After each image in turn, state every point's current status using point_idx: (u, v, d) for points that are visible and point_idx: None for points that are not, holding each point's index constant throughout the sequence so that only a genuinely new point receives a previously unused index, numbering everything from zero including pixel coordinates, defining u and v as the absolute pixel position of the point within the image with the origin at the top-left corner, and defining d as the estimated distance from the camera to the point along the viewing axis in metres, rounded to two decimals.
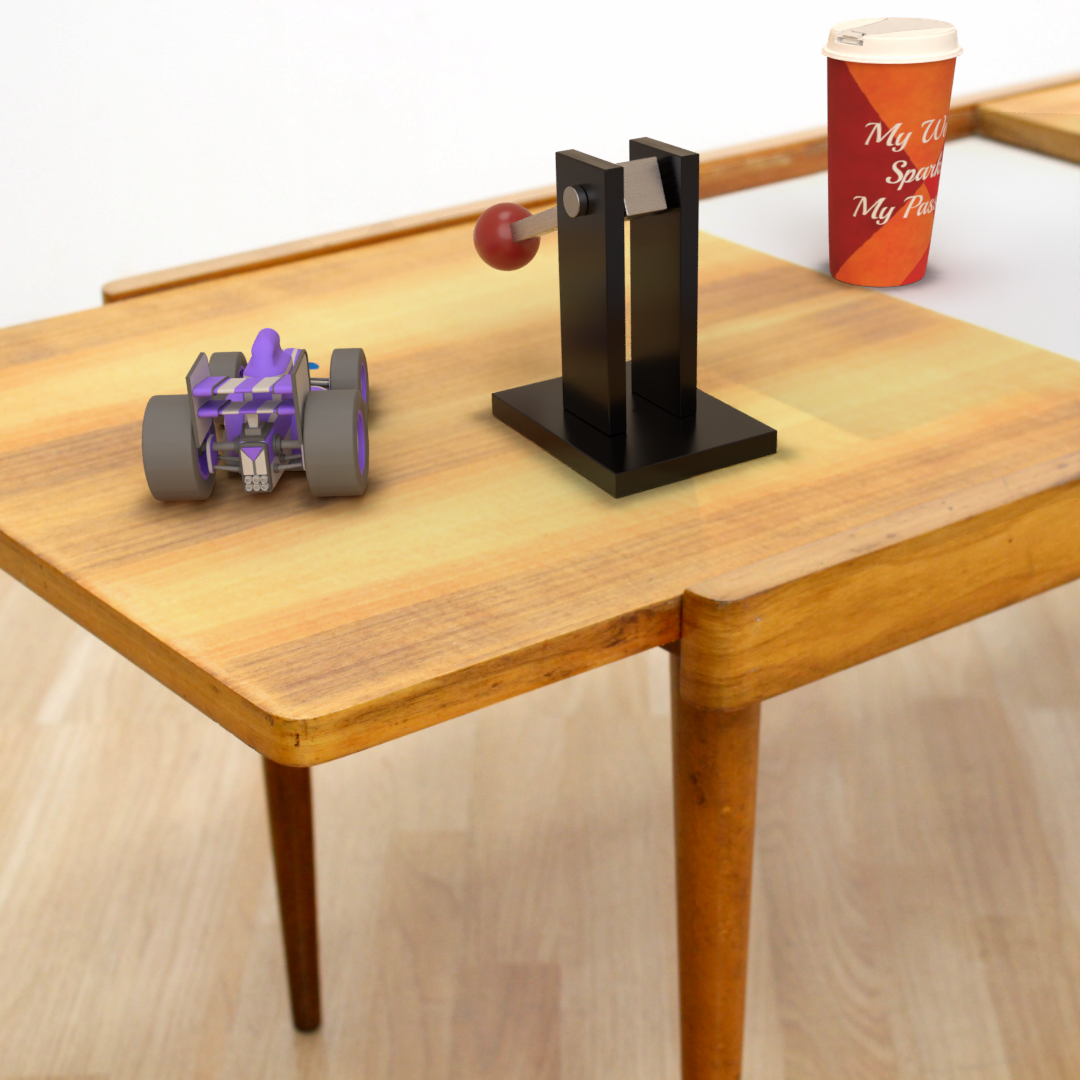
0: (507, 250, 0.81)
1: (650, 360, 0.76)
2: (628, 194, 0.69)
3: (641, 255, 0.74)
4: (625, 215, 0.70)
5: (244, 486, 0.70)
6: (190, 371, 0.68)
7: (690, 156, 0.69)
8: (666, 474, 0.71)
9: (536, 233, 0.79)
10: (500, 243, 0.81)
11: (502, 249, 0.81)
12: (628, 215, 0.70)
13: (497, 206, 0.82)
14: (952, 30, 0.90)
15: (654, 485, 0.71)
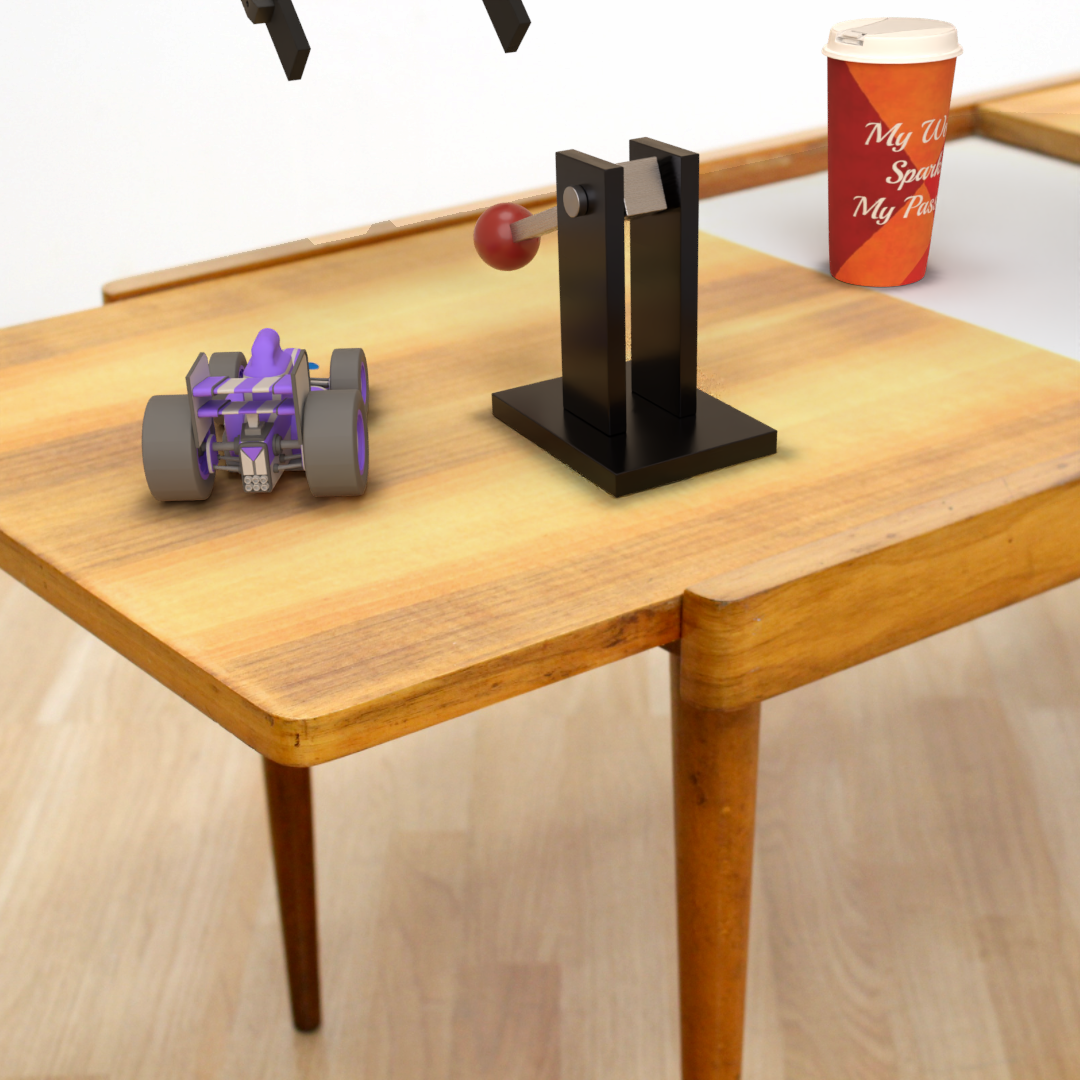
0: (507, 250, 0.81)
1: (650, 360, 0.76)
2: (628, 194, 0.69)
3: (641, 255, 0.74)
4: (625, 215, 0.70)
5: (244, 486, 0.70)
6: (189, 371, 0.68)
7: (690, 156, 0.69)
8: (666, 474, 0.71)
9: (536, 233, 0.79)
10: (500, 243, 0.81)
11: (502, 249, 0.81)
12: (628, 215, 0.70)
13: (497, 206, 0.82)
14: (952, 30, 0.90)
15: (654, 485, 0.71)
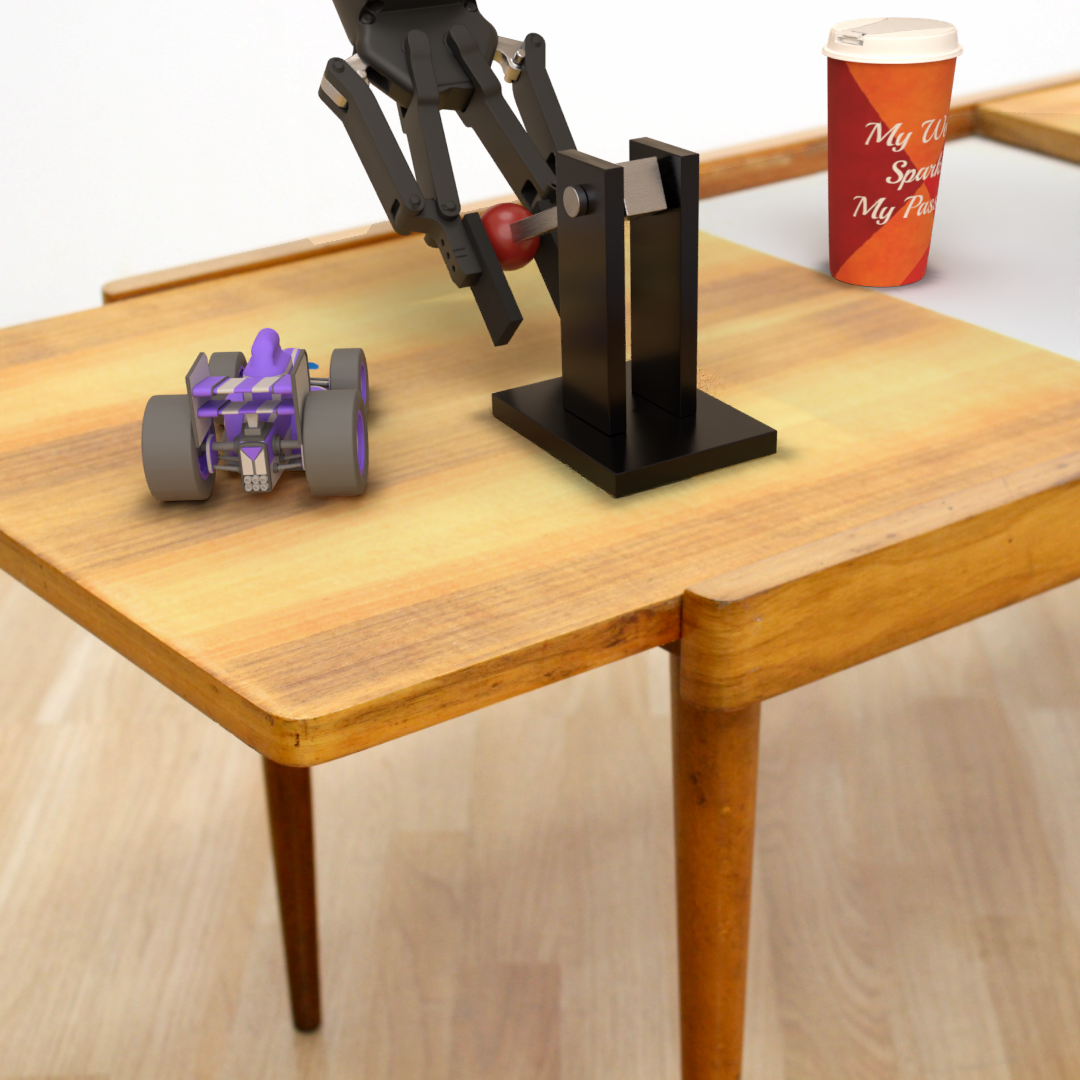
0: (507, 250, 0.81)
1: (650, 360, 0.76)
2: (628, 194, 0.69)
3: (641, 255, 0.74)
4: (625, 215, 0.70)
5: (244, 486, 0.70)
6: (189, 370, 0.68)
7: (690, 156, 0.69)
8: (666, 474, 0.71)
9: (536, 233, 0.79)
10: (500, 243, 0.81)
11: (502, 249, 0.81)
12: (628, 215, 0.70)
13: (497, 206, 0.82)
14: (952, 30, 0.90)
15: (654, 485, 0.71)
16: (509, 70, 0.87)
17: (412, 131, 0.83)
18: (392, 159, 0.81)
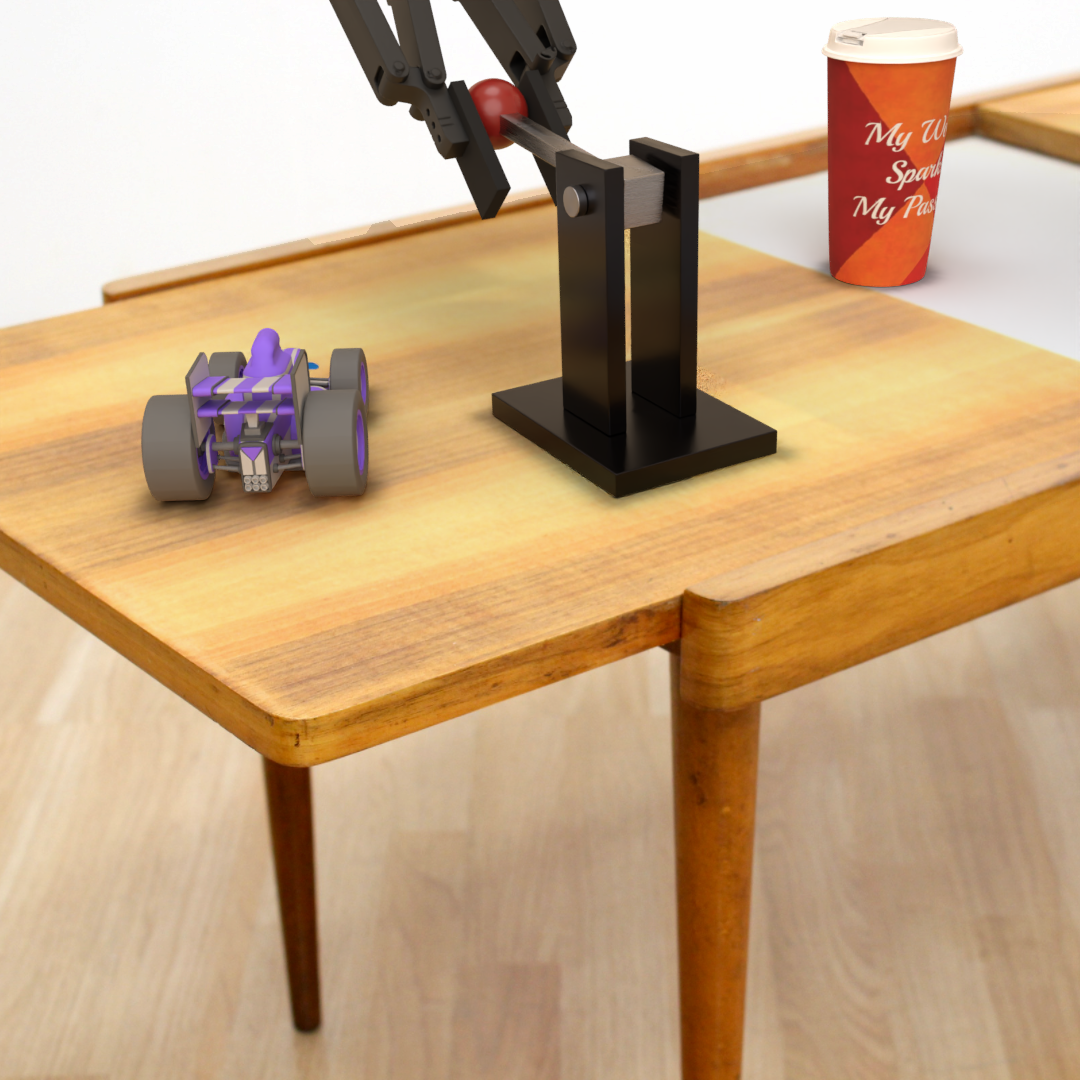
0: (491, 139, 0.80)
1: (650, 360, 0.76)
2: (628, 210, 0.70)
3: (641, 255, 0.74)
4: None
5: (243, 486, 0.70)
6: (189, 370, 0.68)
7: (690, 156, 0.69)
8: (666, 474, 0.71)
9: (525, 148, 0.77)
10: None
11: None
12: None
13: (491, 87, 0.79)
14: (952, 30, 0.90)
15: (654, 485, 0.71)
16: None
17: (397, 1, 0.81)
18: (376, 25, 0.78)
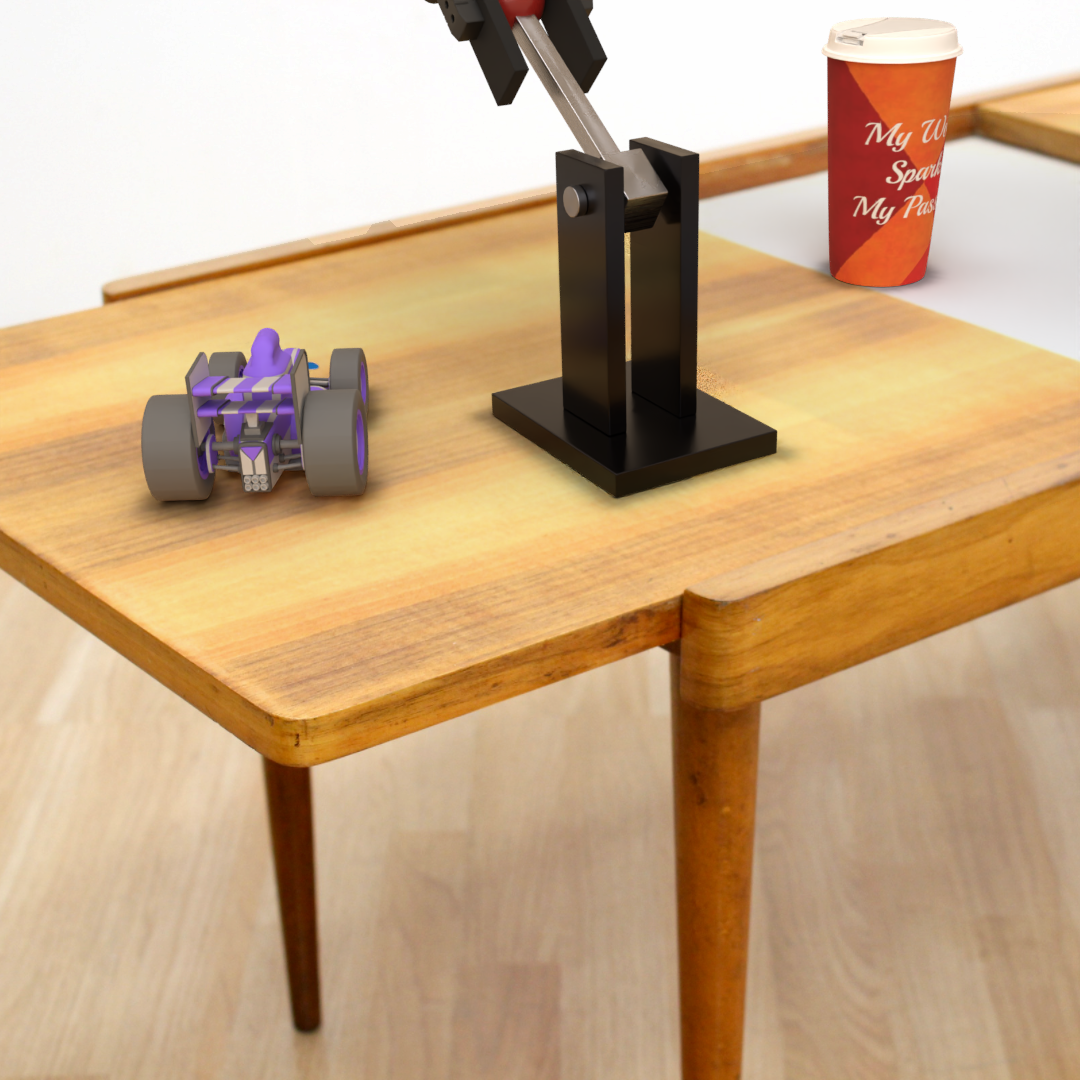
0: None
1: (650, 360, 0.76)
2: (624, 221, 0.70)
3: (641, 255, 0.74)
4: None
5: (243, 486, 0.70)
6: (189, 370, 0.68)
7: (690, 156, 0.69)
8: (666, 474, 0.71)
9: (534, 70, 0.75)
10: None
11: None
12: None
13: None
14: (952, 30, 0.90)
15: (654, 485, 0.71)
16: None
17: None
18: None
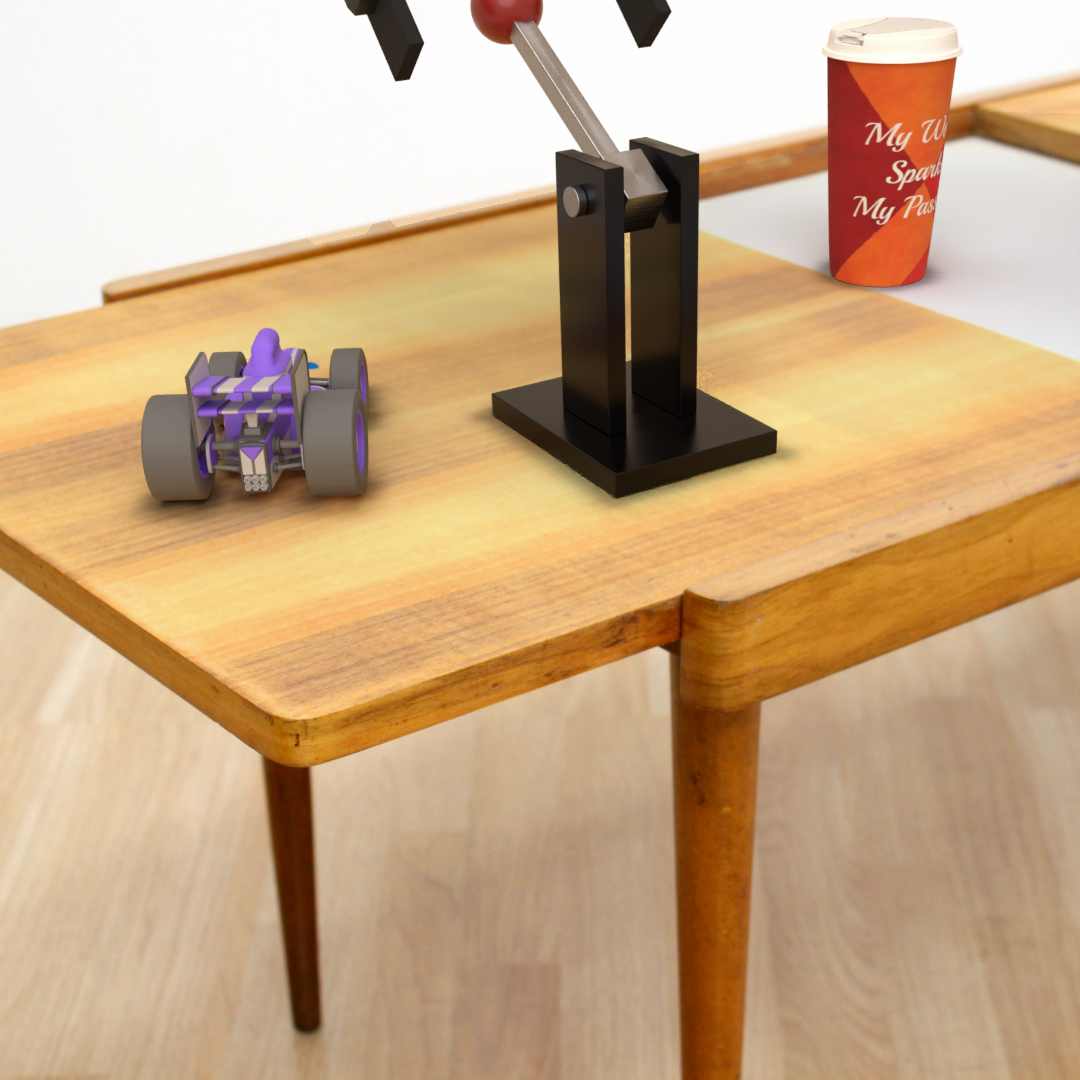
0: (500, 39, 0.76)
1: (650, 360, 0.76)
2: (624, 220, 0.70)
3: (641, 255, 0.74)
4: None
5: (243, 486, 0.70)
6: (189, 370, 0.68)
7: (690, 156, 0.69)
8: (666, 474, 0.71)
9: None
10: (496, 33, 0.76)
11: (495, 37, 0.76)
12: None
13: None
14: (952, 30, 0.90)
15: (654, 485, 0.71)
16: None
17: None
18: None
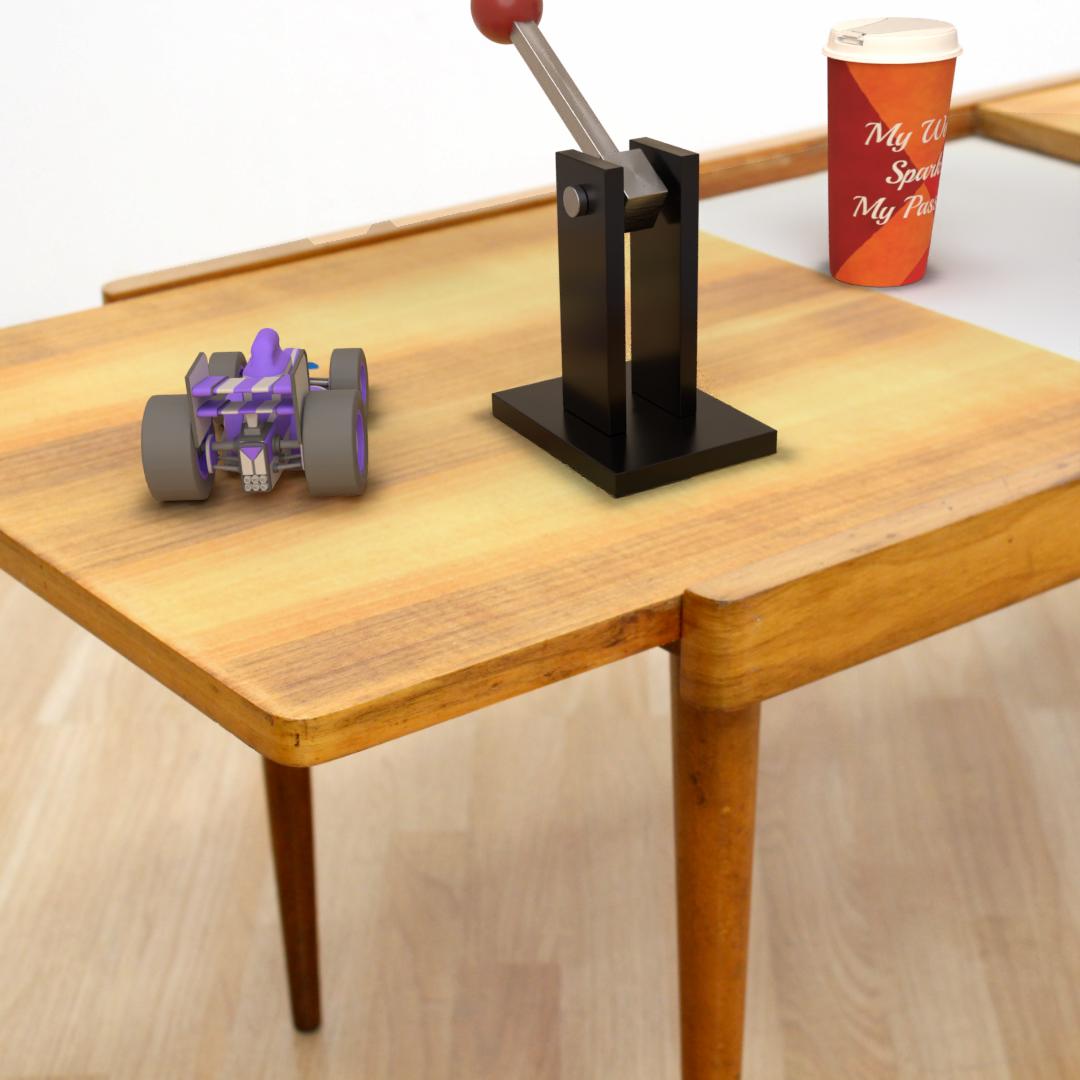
0: (500, 39, 0.76)
1: (650, 360, 0.76)
2: (624, 220, 0.70)
3: (641, 255, 0.74)
4: None
5: (243, 486, 0.70)
6: (189, 370, 0.68)
7: (690, 156, 0.69)
8: (666, 474, 0.71)
9: None
10: (496, 33, 0.76)
11: (495, 37, 0.76)
12: None
13: None
14: (952, 30, 0.90)
15: (654, 485, 0.71)
16: None
17: None
18: None
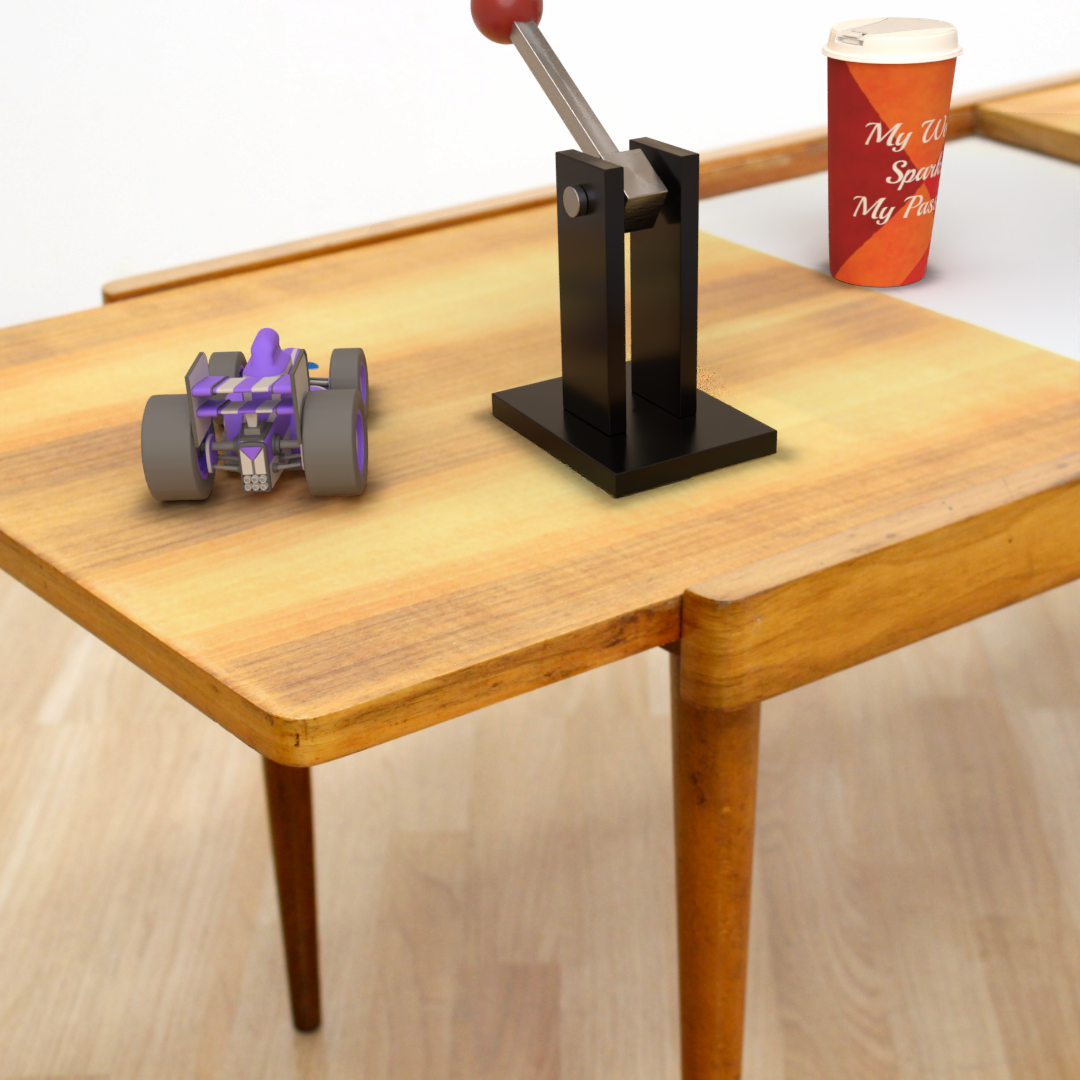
0: (500, 39, 0.76)
1: (650, 360, 0.76)
2: (624, 220, 0.70)
3: (641, 255, 0.74)
4: None
5: (243, 486, 0.70)
6: (189, 370, 0.68)
7: (690, 156, 0.69)
8: (666, 474, 0.71)
9: None
10: (496, 33, 0.76)
11: (495, 37, 0.76)
12: None
13: None
14: (952, 30, 0.90)
15: (654, 485, 0.71)
16: None
17: None
18: None
